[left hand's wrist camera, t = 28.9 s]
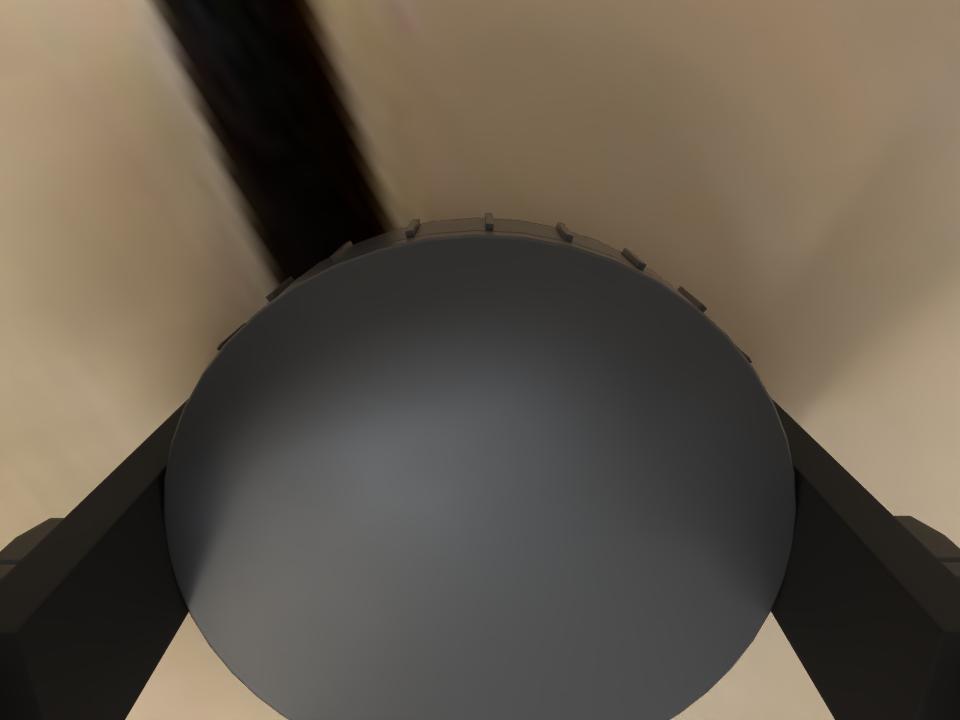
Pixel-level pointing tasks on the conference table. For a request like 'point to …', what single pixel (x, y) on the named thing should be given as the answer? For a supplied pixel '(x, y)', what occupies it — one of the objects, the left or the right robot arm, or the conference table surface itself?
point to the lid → (479, 485)
